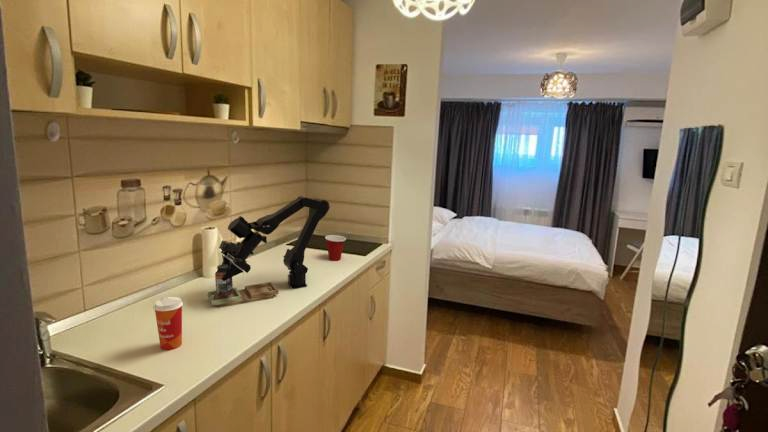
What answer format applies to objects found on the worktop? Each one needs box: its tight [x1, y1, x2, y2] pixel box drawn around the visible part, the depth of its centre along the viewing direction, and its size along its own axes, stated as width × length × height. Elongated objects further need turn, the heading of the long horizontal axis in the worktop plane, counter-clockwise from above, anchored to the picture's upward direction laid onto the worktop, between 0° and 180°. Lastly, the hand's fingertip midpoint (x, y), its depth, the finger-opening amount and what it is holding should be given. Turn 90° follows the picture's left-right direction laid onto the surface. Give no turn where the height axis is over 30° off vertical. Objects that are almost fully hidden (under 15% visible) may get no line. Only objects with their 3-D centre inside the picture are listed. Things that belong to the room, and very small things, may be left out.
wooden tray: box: [206, 281, 279, 308], centre depth 157 cm, size 25×12×2 cm, turn 121°
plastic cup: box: [324, 234, 347, 262], centre depth 209 cm, size 11×11×12 cm
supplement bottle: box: [214, 263, 234, 297], centre depth 153 cm, size 6×6×11 cm
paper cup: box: [152, 296, 184, 351], centre depth 119 cm, size 8×8×14 cm
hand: (220, 277), depth 152 cm, fingers closed on supplement bottle, 6 cm apart
